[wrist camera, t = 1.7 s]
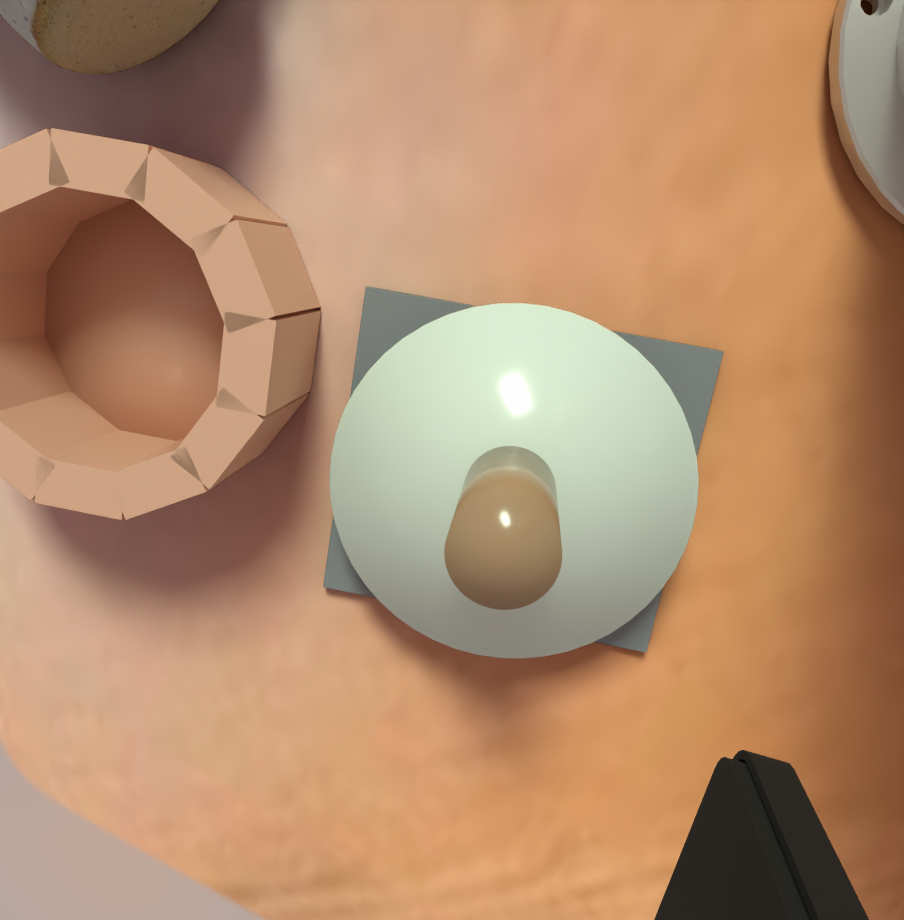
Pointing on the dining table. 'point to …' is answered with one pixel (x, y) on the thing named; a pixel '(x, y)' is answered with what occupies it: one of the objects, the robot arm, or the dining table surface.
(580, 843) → the dining table surface
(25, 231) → the round wooden tub
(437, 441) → the lid
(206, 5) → the ceramic mug
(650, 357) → the placemat
